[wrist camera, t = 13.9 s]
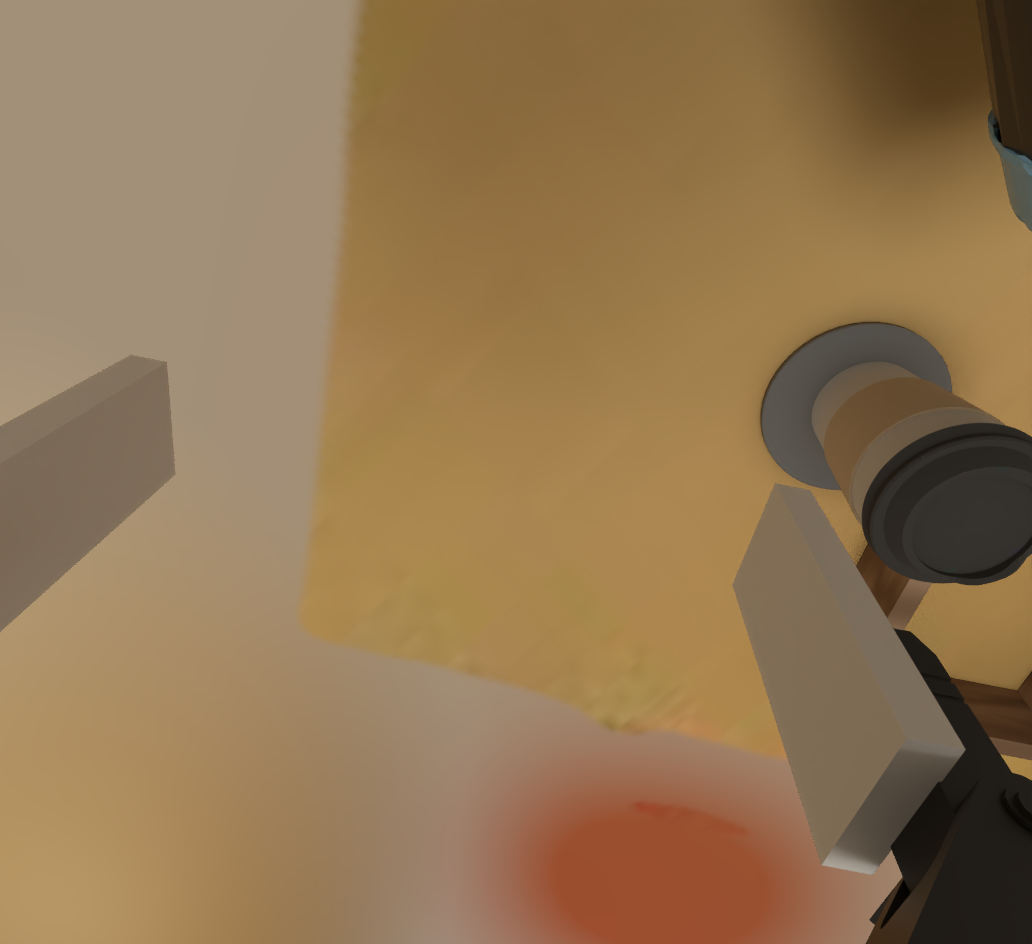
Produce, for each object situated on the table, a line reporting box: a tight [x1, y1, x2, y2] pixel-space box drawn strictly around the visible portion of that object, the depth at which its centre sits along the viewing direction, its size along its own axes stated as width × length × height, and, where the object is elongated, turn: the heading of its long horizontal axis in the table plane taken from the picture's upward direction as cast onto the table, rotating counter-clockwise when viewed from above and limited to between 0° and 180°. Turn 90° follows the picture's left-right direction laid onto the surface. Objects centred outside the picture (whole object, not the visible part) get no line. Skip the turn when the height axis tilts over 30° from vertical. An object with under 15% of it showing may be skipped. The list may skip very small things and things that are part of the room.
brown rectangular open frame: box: [856, 544, 1032, 760], centre depth 49 cm, size 22×19×6 cm
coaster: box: [761, 322, 952, 490], centre depth 46 cm, size 12×12×1 cm
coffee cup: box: [811, 361, 1032, 585], centre depth 39 cm, size 9×9×15 cm
